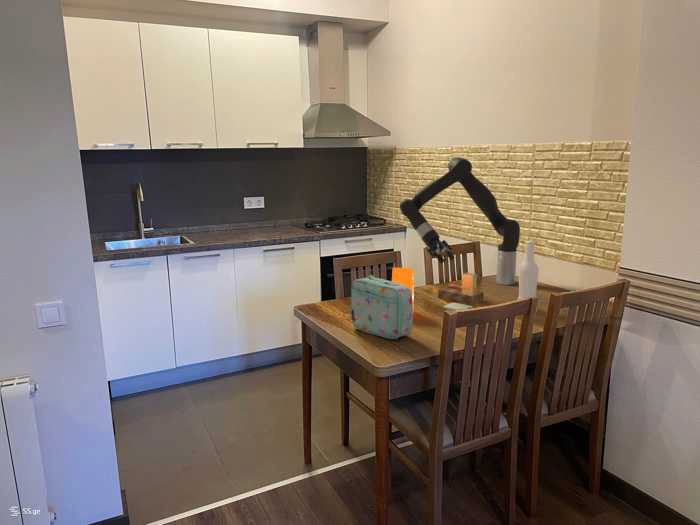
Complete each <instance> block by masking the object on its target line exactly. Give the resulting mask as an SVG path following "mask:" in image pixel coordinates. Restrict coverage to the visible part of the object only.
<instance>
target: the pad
mask: <svg viewBox="0 0 700 525" xmlns="http://www.w3.org/2000/svg"><path fill="white" fill-rule="evenodd" d="M473 306H474V305H469V304H464V303H459V302H455V301H451V303H448V304H445V305H443V306H442V308H443V309H449V310H453V311H456V310H459V309H467V308H471V309H473Z"/></svg>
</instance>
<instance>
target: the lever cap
mask: <svg viewBox="0 0 700 525" xmlns="http://www.w3.org/2000/svg"><path fill="white" fill-rule="evenodd" d="M477 276H478V275H477V273H472V272H471V273H470V272H464V273H461V286H462V294H463V295H468V296H474V295H476V290H477V278H478V277H477Z"/></svg>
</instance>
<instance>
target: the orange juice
mask: <svg viewBox="0 0 700 525" xmlns="http://www.w3.org/2000/svg"><path fill="white" fill-rule="evenodd" d="M391 272H392V273H391V281H392V282H396V283H399V284H402V285H405V286H407V287H409V288H410V290H411V292H412V298H413V312H414V310H415V309H414V306H415V305H414V304H415V303H414V297H415V293H414V292H415V288H414V284H415V282H414V281H415V280H414V279H415V278H414V268H413V267H392V271H391Z"/></svg>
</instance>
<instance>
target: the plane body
mask: <svg viewBox="0 0 700 525" xmlns="http://www.w3.org/2000/svg"><path fill="white" fill-rule="evenodd" d="M437 297H438V299H441V300H446V301H451V302H454V303H459V304H464V305H469V306H474V305H476V304H478V303H480V302H482V301H484V291H483V290H478V289H476V295H474V296H468V295H463V294H462V285H459V284H453V283H450V282H448V283H446V286H445V287H442V288H440V289H438V292H437ZM481 300H482V301H481ZM479 301H480V302H479ZM477 302H478V303H477ZM475 303H476V304H475ZM473 304H474V305H473Z"/></svg>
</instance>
